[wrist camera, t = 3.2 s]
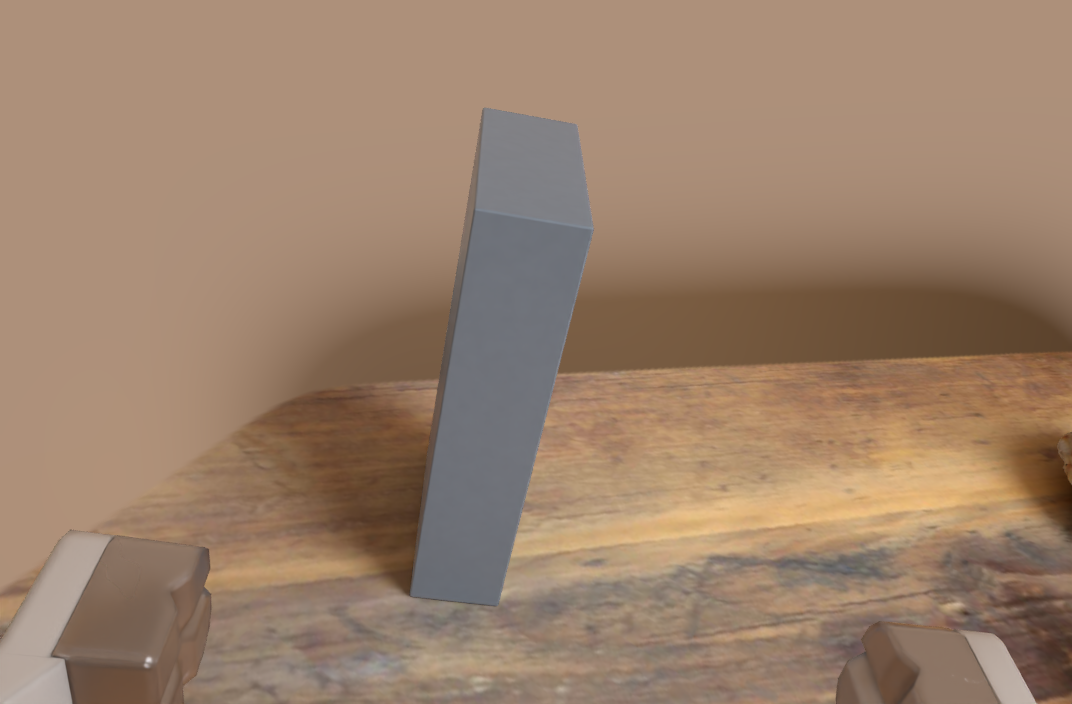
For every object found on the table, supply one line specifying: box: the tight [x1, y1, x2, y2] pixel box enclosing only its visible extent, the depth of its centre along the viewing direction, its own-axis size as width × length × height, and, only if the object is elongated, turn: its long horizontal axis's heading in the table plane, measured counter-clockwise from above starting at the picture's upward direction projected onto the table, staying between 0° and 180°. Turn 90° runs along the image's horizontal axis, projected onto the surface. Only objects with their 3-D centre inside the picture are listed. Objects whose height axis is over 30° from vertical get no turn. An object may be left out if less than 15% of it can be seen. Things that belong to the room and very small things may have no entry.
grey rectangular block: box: [410, 108, 594, 606], centre depth 24 cm, size 2×6×12 cm, turn 1°
